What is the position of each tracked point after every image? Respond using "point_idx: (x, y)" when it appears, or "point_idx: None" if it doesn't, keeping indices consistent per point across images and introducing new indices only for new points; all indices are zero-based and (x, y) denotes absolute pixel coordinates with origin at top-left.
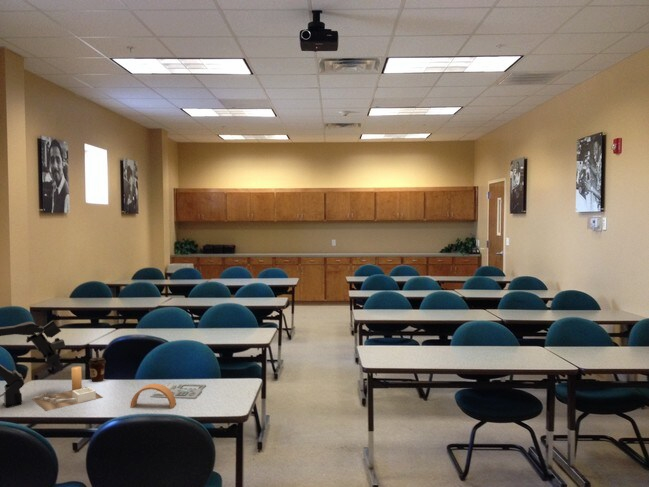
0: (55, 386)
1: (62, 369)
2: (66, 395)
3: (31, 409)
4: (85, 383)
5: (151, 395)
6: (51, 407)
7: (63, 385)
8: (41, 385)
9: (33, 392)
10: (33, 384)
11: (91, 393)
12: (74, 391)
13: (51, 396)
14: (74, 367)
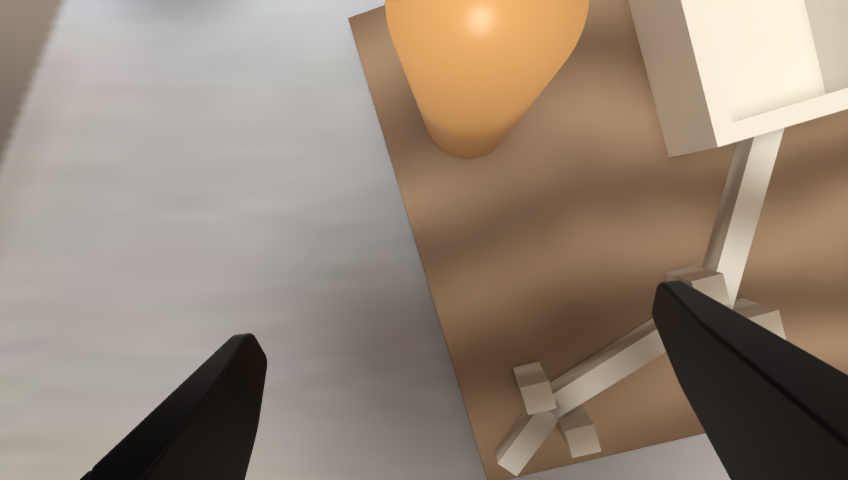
0: (155, 293)
1: (685, 290)
2: (534, 208)
3: (714, 475)
4: (172, 38)
5: None
6: (833, 337)
7: (153, 228)
8: (78, 399)
9: (251, 458)
10: (25, 456)
11: None
12: (764, 123)
13: (496, 333)
14: (446, 39)
